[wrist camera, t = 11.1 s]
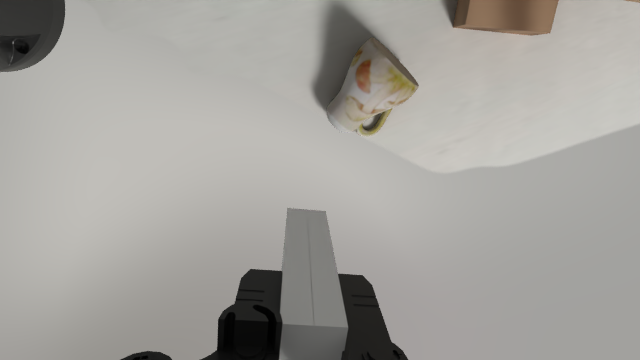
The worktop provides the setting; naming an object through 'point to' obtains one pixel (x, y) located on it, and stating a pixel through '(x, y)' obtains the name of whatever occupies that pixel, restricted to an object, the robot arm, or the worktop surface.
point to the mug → (370, 89)
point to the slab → (506, 16)
